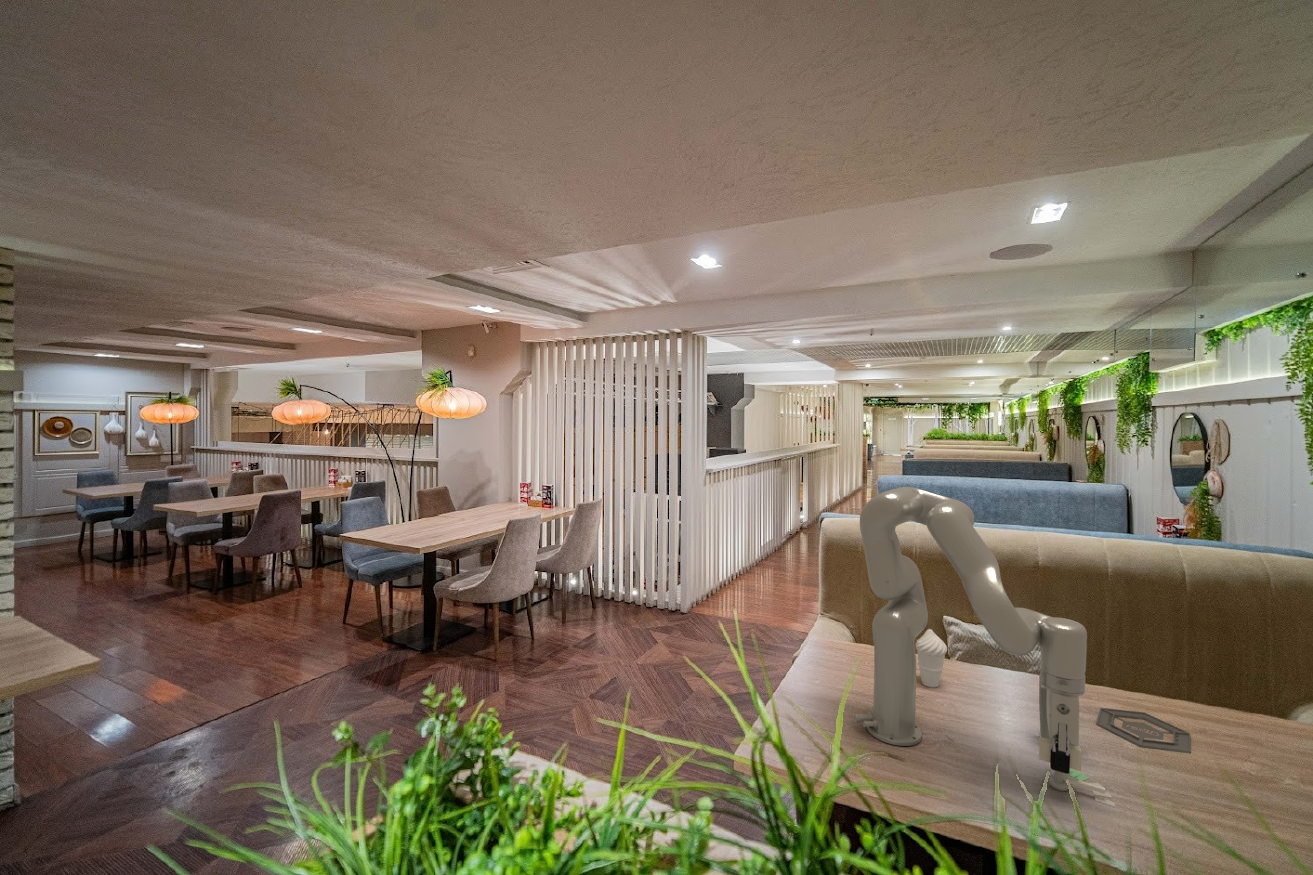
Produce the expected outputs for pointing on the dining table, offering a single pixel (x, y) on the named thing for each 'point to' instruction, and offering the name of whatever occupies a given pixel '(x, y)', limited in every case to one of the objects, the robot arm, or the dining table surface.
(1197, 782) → the dining table surface
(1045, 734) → the skincare box
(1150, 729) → the grey hexagonal plate
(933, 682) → the soft serve ice cream cone
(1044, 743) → the beige block on stand
